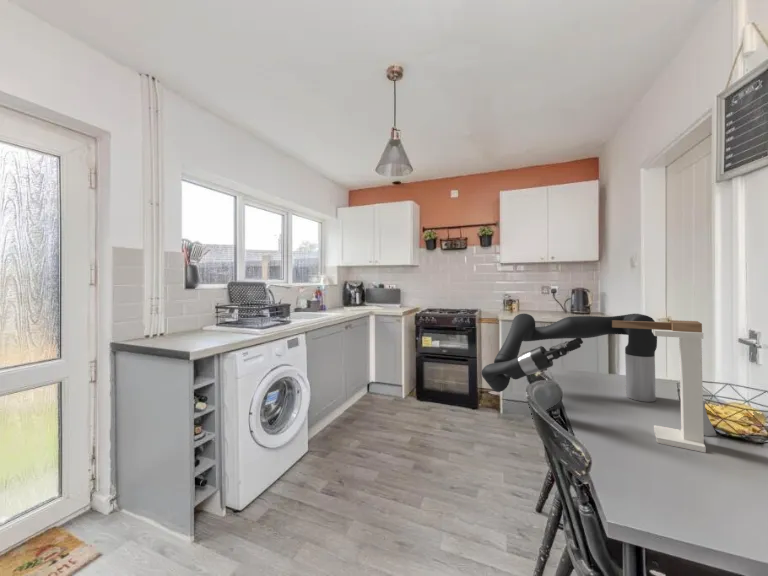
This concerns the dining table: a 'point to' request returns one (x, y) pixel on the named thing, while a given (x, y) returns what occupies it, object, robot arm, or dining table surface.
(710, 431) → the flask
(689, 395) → the white pedestal stand
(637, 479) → the dining table surface
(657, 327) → the tan angular block
